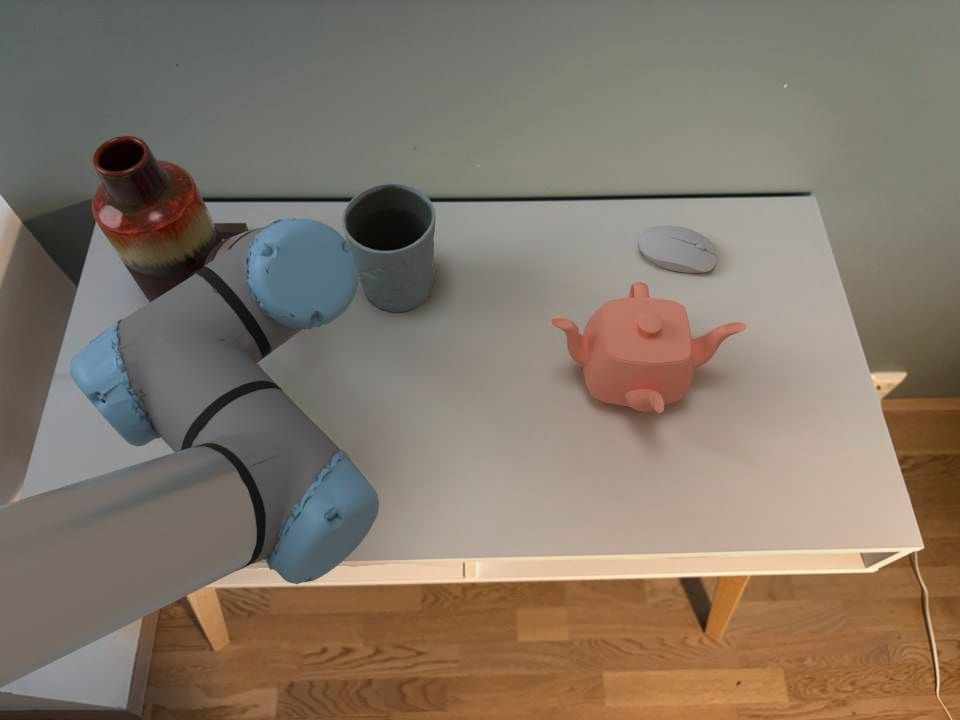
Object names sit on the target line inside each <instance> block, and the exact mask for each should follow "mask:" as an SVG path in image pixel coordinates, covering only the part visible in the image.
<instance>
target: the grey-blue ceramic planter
mask: <svg viewBox="0 0 960 720" xmlns="http://www.w3.org/2000/svg"><path fill="white" fill-rule="evenodd" d="M436 218H437V217H436V209H435V207H434V204H433V203H432V200H431V199H430V198H429V197H428V196H427V195H426V194H425V193H424V192H422V191H421V190H420V189H418V188H416V187H413V186H411V185H407V184H403V183H397V182H396V183H394V182H387V183H380V184H375V185H372V186H369V187H367V188H365V189H362V190H361V191H360V192H358V193H357V194H356V195H354V197H352V199H351V200H350V201H349V202H348V203H347V205H346V206H345V208H344V211H343V214H342V218H341V219H342V221H341V224H342V229H343V232H344V234H345V237H346V241H347V243H348V244H349V245H350V247H351V249H352V251H353V253H354V256H355V258H356V262H357V267H358V278H359V280H360V282H361V286H362V289H363V292H364V294H365V296H366V299H368V300H369V302H370V303H371V304H373V305H374V306H375V307H376V308H378V309H380V310H383V311H386V312H391V313H403V312H407V311H408V312H409V311H410V310H411V311H412V310H413V309H416V308H417V307H419V306H420V305H422V304H423V303H424V302H425V301H426V300H427V299H428V297H429V296H430V294H431V292H432V291H433V290H432V289H433V287H434V286H433V285H434V271H435V270H434V266H433V262H434V257H435V250H434V249H435V240H434V237H435V232H436Z"/></svg>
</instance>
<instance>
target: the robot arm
mask: <svg viewBox="0 0 960 720" xmlns="http://www.w3.org/2000/svg"><path fill="white" fill-rule="evenodd" d="M358 285H359V274H358V267H357V262H356V258H355V256H354V253H353V251H352V249H351V247H350V245H349V243H348V240H347V239H345V238H344V237H343V235H342V234H340V232H339V231H337V229H334V228H333V227H332V226H330V225H328V224H326V223H324V222H321V221H319V220H315V219H309V218H296V217H295V218H290V217H289V218H285V219H277V220H274V221H273V222H271V223H270V224H268V225H266V226H263V227H260V228H253V229H250V230H248V231H246V232H243V233H241V234H238V235H236V236H233V237H230V238H227V239H223V240H222V242H220V243H219V244H217V245H216V246H215V247H214V248H213V249H212V251H211V252H210V253H209V255H208V257H207V259H206V261H205V264H204V267H202V268H201V269H198V270H196V271H195V272H193V273H192V274H191V275H190V278H188V279H187V280H185V281H184V282H182V283H180V284H179V285H177V286H176V287H174V288H173V289H171V290H169V291H168V292H166V293H165V294H163V295H161V296H160V297H158V298H157V299H155V300H153V301H152V302H148V303H147V304H145V305H143V306H142V307H140V308H139V309H137V310H135V311H134V312H132V313H130V314H129V315H127V316H126V317H124V318H122V319H121V318H120V319H118V320H116V321H115V322H113V323H112V325H111V326H110V327H109V328H107V329H106V330H104V331H103V332H102V333H100V334H98V336H96V337H95V338H94V339H92V340H91V341H89V342H88V344H86V345H85V346H84V347H83V348H81V349H80V350H79V351H78V352H76V353H75V354H74V355H73V356H72V358H71V360H70V363H69V367H68V368H69V374H70V377H71V379H72V381H73V382H74V383H75V385H76V386H77V387H78V388H79V390H80V391H81V392H82V393H83V395H84V396H85V397H86V398H87V399H88V400H89V401H90V403H91V404H92V406H94V407H95V409H97V411H98V412H99V413H100V415H101V416H102V417H103V418H104V419H105V420H106V422H107V423H108V424H109V425H110V426H111V427H112V428H113V429H114V431H115V432H117V434H119V435H120V437H121V438H122V439H123V440H124V441H125V442H126V443H127V444H129V445H131V446H133V447H144V446H146V445H147V444H149V443H150V442H152V441H154V440H155V439H157V440H158V439H160V438H161V439H162V440H163V441H164V443H165V444H166V445H167V446H168V447H169V448H170V449H171V450H172V451H173V452H172V453H169V454H165V455H161V456H159V457H155V458H152V459H148V460H146V461H143V462H139V463H136V464H133V465H130V466H126V467H123V468H120V469H116V470H113V471H110V472H106V473H103V474H99V475H97V476H93V477H90V478H86V479H84V480H80V481H77V482H73V483H70V484H67V485H64V486H61V487H57V488H54V489H51V490H47V491H44V492H41V493H37V494H35V495H32V496H28V497H25V498H22V499H21V498H20V499H18V500H15V501H12V502H8V503H5V504H2V505H0V689H2V688H4V687H6V686H8V685H10V684H12V683H14V682H16V681H18V680H20V679H22V678H24V677H26V676H28V675H31V674H33V673H34V672H36V671H38V670H41V669H43V668H45V667H46V666H48V665H50V664H52V663H54V662H56V661H58V660H60V659H62V658H65V657H66V656H68V655H71V654H73V653H74V652H76V651H78V650H80V649H83V648H85V647H87V646H88V645H91V644H92V643H94V642H96V641H99V640H100V639H103V638H104V637H106V636H108V635H111V634H113V633H114V632H116V631H119V630H121V629H122V628H125V627H126V626H129V625H130V624H133V623H135V622H136V621H139V620H141V619H143V618H145V617H147V616H148V615H149V616H150V615H151V614H153V613H155V612H157V611H159V610H161V609H163V608H164V607H165V608H166V607H167V606H169V605H171V604H173V603H174V602H177V601H179V600H181V599H183V598H185V597H187V596H189V595H191V594H193V593H195V592H198V591H199V590H202V589H203V588H204V587H207V586H209V585H211V584H213V583H215V582H217V581H219V580H221V579H223V578H225V577H227V576H229V575H231V574H233V573H236V572H238V571H240V570H242V569H245V568H247V567H249V566H251V565H254V564H256V563H259V562H262V561H263V560H265V562H266V564H267V566H268V568H269V570H271V571H272V570H273V571H275V572H276V573H277V574H278V575H279V576H280V578H282V579H283V581H285V582H286V583H289V584H294V585H299V584H302V583H309V582H315V581H316V580H318V579H320V578H322V577H324V576H325V575H327V574H328V573H329V572H331V571H332V570H334V569H335V568H336V567H338V566H339V565H340V564H341V563H342V562H344V561H345V560H346V559H347V558H348V557H349V556H350V555H351V554H352V553H353V552H354V551H355V550H356V549H357V548H358V547H359V545H360V544H361V543H362V542H363V541H364V539H365V538H366V537H367V535H368V534H369V532H370V530H371V529H372V527H373V525H374V523H375V521H376V519H377V517H378V514H379V508H380V499H379V494H378V492H377V490H376V489H375V488H374V486H373V485H372V484H371V483H370V481H369V480H368V479H367V478H366V477H365V475H364V474H363V473H362V471H361V470H360V469H359V468H358V467H357V465H356V464H355V463H354V462H353V460H352V459H351V458H350V457H349V455H348V453H347V452H346V451H345V450H344V449H343V448H342V449H341V448H340V447H339V446H338V445H337V444H336V442H334V441H333V439H331V437H329V436H328V435H327V434H326V433H325V432H324V430H323V429H322V428H320V426H318V425H317V423H315V422H314V421H313V419H312V418H311V417H310V416H308V414H306V412H304V411H303V409H302V408H300V406H299V405H298V404H297V403H295V402H294V400H292V399H291V397H290V396H289V395H288V394H286V393H285V391H283V390H282V388H281V387H280V386H279V385H278V384H277V383H276V381H274V379H273V378H271V376H269V374H267V372H266V371H265V370H264V369H263V368H262V367H261V366H260V365H259V364H258V363H260V362H261V361H262V360H263V359H265V358H266V357H267V356H269V355H270V354H271V353H272V352H274V351H275V350H276V349H277V348H279V347H280V346H282V345H283V344H284V343H286V342H287V341H288V340H290V339H291V338H293V337H295V336H296V335H297V334H298V333H299V332H301V331H302V330H313V329H314V328H316V327H317V328H321V326H325V325H327V324H330V323H332V322H334V321H335V320H337V319H338V318H339V317H341V316H342V315H343V314H344V313H345V312H346V311H347V309H348V308H349V307H350V305H351V304H352V302H353V300H354V298H355V295H356V292H357V289H358Z"/></svg>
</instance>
